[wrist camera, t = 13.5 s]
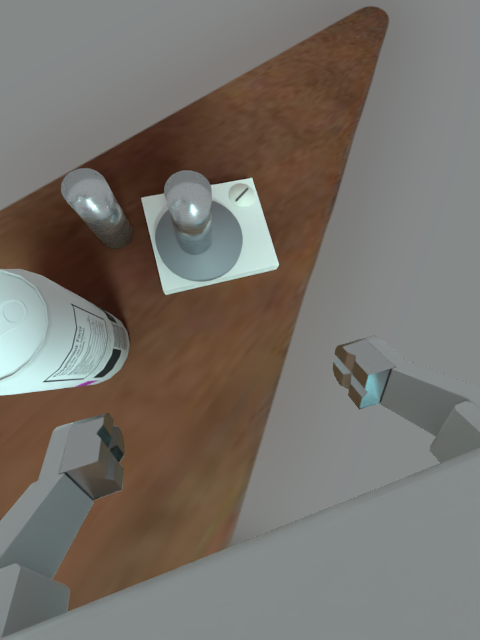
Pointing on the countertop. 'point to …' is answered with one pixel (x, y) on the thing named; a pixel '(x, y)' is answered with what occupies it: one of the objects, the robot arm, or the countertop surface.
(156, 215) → the scale
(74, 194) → the cylinder
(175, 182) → the glossy grey rounded cylinder
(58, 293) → the supplement can
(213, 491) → the countertop surface
